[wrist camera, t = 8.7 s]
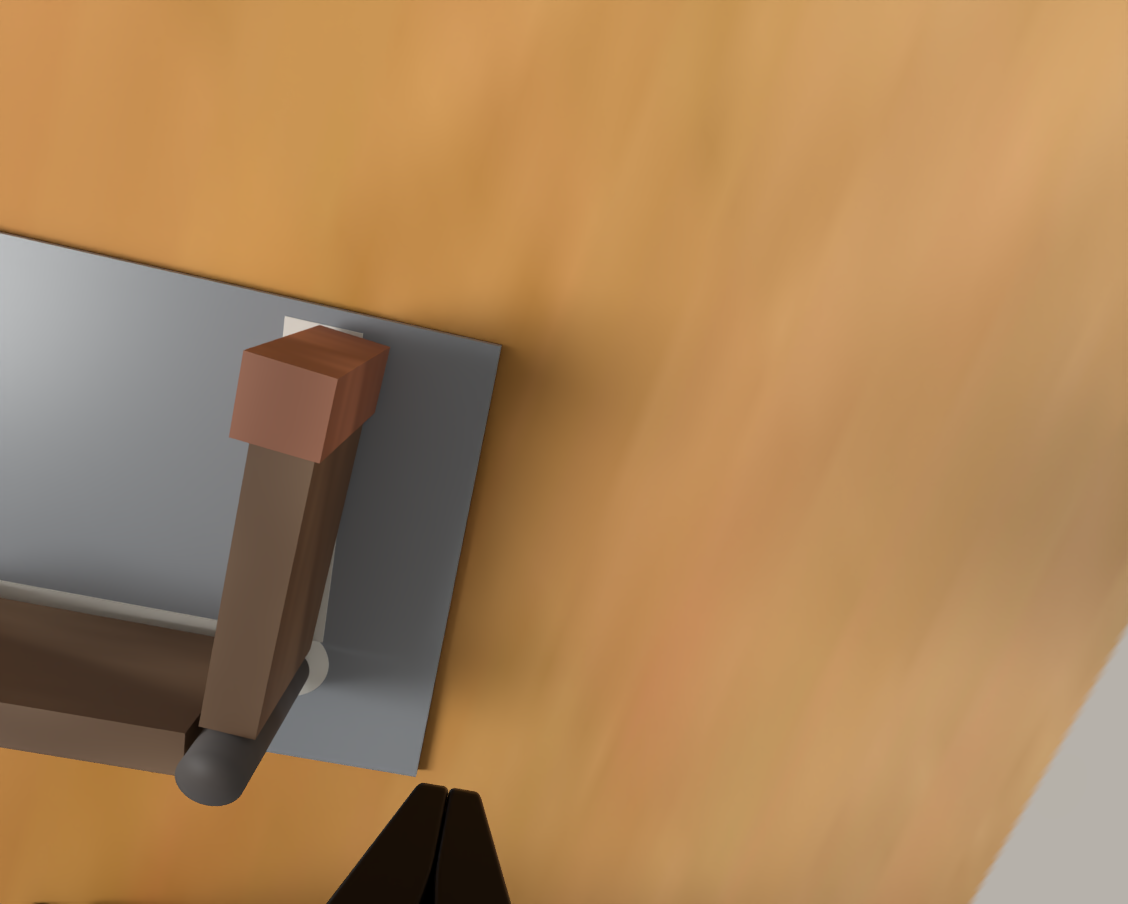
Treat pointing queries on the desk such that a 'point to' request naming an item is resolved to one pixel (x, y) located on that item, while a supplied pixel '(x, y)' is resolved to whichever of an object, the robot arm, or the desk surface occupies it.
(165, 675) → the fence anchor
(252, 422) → the fence gate
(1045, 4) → the desk surface
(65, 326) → the card
